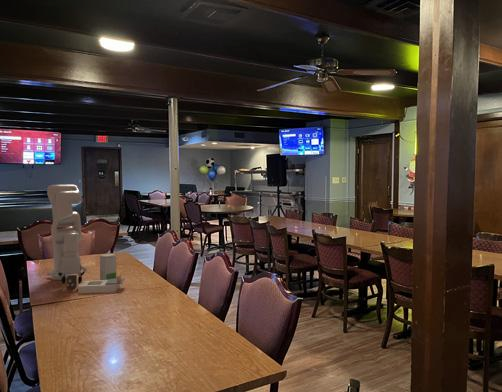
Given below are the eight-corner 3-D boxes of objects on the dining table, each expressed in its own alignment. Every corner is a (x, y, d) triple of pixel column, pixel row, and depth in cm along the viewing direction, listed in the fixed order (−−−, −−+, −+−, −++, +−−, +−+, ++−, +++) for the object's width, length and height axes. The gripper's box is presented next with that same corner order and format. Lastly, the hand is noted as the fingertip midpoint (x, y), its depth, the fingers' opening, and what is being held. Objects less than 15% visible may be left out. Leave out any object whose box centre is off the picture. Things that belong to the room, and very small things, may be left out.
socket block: (78, 293, 214) (78, 286, 214) (84, 287, 226) (84, 280, 225) (115, 292, 217) (115, 285, 217) (119, 286, 229) (119, 279, 228)
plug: (66, 289, 221) (65, 277, 221) (69, 286, 227) (69, 275, 227) (73, 289, 221) (73, 277, 221) (76, 286, 228) (76, 274, 227)
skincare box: (105, 281, 239) (104, 256, 238) (99, 279, 243) (99, 255, 242) (117, 278, 245) (116, 254, 244) (111, 277, 249) (110, 253, 248)
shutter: (105, 284, 217) (105, 277, 217) (109, 280, 226) (108, 273, 226) (121, 283, 218) (121, 276, 218) (124, 279, 228) (124, 272, 227)
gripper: (53, 255, 219) (53, 285, 220) (85, 254, 222) (85, 284, 222) (57, 253, 226) (58, 282, 227) (88, 252, 229) (89, 281, 230)
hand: (71, 283), depth 225 cm, fingers open, 8 cm apart
